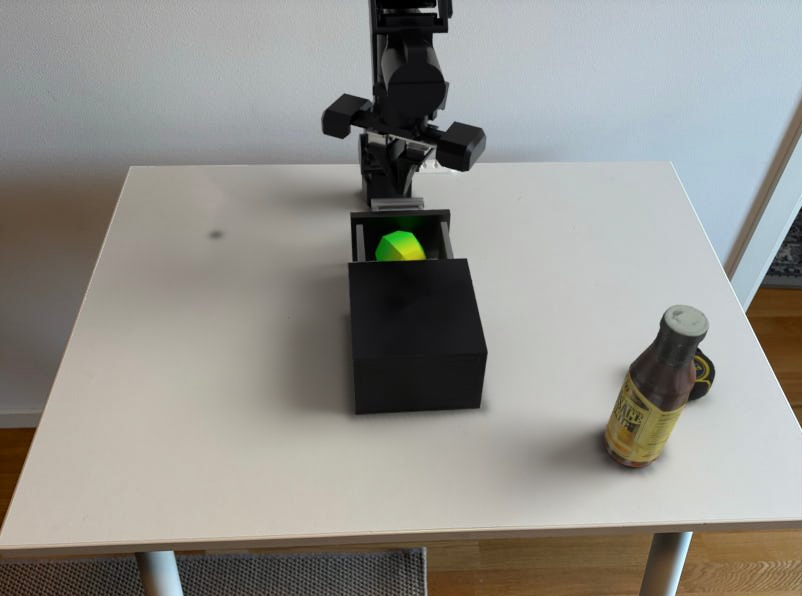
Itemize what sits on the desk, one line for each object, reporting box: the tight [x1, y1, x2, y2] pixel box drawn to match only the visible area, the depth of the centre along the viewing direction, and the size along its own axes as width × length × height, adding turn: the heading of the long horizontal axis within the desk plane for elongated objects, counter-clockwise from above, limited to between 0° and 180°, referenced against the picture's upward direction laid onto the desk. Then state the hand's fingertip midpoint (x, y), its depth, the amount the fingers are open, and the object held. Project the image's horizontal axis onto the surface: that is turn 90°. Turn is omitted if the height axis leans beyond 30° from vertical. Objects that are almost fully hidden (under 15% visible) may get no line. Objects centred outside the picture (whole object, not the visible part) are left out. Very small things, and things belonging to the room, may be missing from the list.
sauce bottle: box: [603, 304, 710, 468], centre depth 74 cm, size 7×6×20 cm
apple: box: [375, 231, 428, 261], centre depth 94 cm, size 7×6×9 cm
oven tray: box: [349, 196, 455, 262], centre depth 95 cm, size 19×13×7 cm
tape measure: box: [687, 346, 716, 402], centre depth 86 cm, size 7×7×4 cm
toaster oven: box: [347, 257, 489, 416], centre depth 86 cm, size 16×14×9 cm
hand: (401, 193), depth 92 cm, fingers closed
